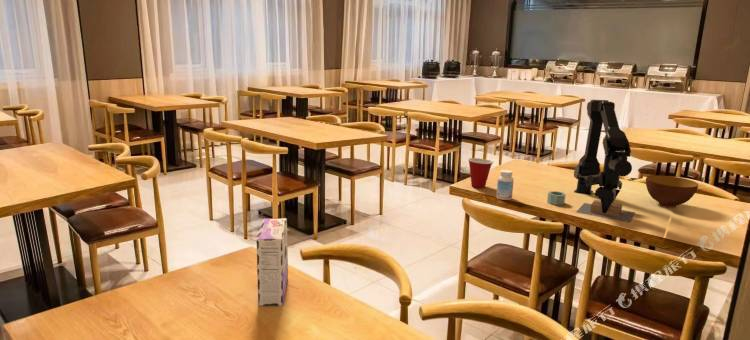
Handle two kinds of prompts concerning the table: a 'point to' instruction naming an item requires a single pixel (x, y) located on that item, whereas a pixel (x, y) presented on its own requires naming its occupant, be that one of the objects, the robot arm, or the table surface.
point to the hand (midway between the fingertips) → (605, 210)
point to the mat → (624, 215)
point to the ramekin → (556, 198)
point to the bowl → (670, 190)
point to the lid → (612, 211)
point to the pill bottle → (505, 185)
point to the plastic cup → (479, 171)
